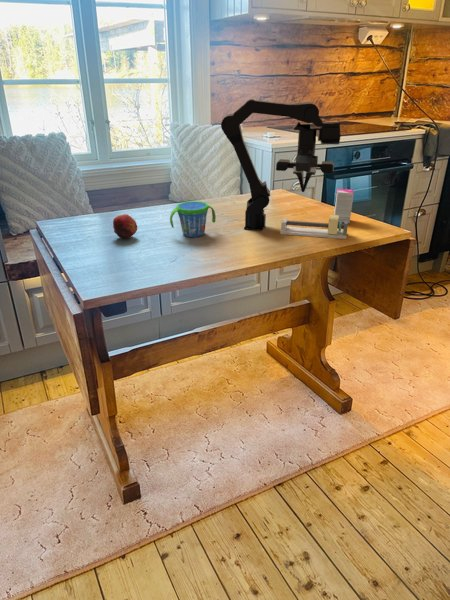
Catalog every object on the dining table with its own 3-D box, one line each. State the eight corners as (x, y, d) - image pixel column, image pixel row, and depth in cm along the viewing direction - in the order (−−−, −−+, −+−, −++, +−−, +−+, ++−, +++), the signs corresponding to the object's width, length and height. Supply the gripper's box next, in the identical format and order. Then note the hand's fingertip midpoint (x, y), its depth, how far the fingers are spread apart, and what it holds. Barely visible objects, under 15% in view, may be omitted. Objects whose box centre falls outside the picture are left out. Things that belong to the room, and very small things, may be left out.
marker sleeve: (327, 233, 156) (329, 219, 153) (328, 229, 160) (329, 215, 158) (336, 234, 155) (338, 219, 153) (337, 230, 159) (338, 215, 157)
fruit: (141, 235, 159) (139, 212, 155) (131, 243, 152) (129, 219, 148) (120, 233, 160) (118, 211, 157) (110, 241, 154) (107, 217, 150)
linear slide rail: (280, 234, 159) (281, 220, 157) (282, 228, 164) (283, 215, 162) (346, 239, 154) (347, 225, 152) (346, 233, 160) (348, 219, 157)
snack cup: (173, 241, 153) (171, 211, 149) (168, 231, 162) (167, 202, 158) (219, 237, 157) (218, 207, 152) (212, 227, 166) (211, 199, 161)
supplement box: (350, 224, 168) (353, 193, 163) (333, 223, 169) (336, 192, 164) (349, 219, 173) (353, 189, 168) (333, 218, 174) (336, 188, 169)
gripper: (274, 147, 147) (272, 196, 154) (334, 149, 142) (329, 199, 150) (279, 141, 156) (277, 188, 163) (336, 143, 152) (331, 191, 159)
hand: (303, 191), depth 159 cm, fingers closed
